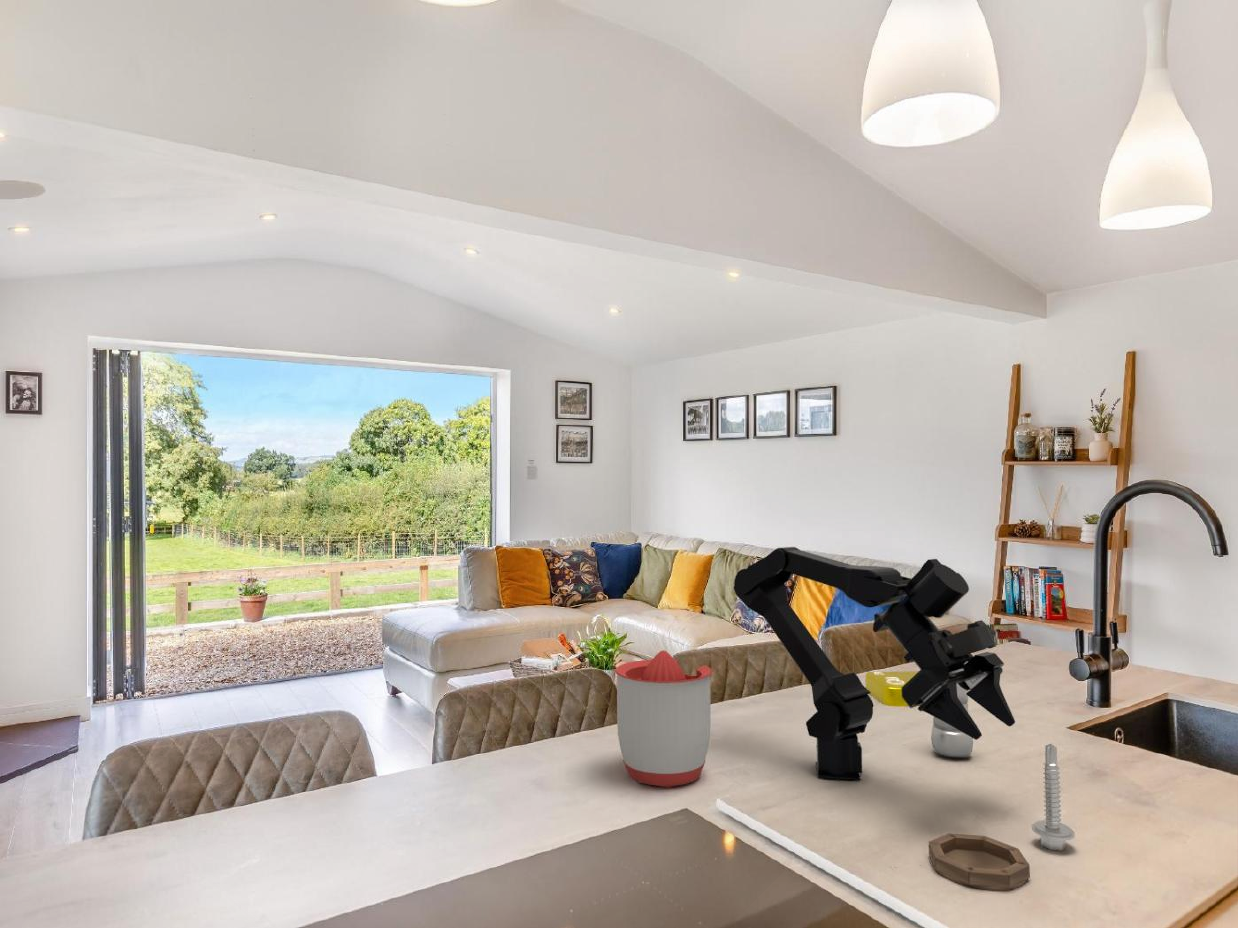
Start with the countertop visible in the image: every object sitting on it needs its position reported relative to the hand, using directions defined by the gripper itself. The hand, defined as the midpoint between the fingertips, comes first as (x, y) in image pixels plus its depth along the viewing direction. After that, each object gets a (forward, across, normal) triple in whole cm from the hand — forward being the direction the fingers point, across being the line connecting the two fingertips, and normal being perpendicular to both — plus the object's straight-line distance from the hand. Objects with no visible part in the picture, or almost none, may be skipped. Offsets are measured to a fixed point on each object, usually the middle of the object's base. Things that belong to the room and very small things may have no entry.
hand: (996, 730), depth 107 cm
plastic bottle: (-4, +22, +23) cm, 32 cm away
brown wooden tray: (+12, -13, +6) cm, 19 cm away
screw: (+14, 0, +4) cm, 15 cm away
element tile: (-23, +51, +42) cm, 70 cm away
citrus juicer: (-21, -21, +40) cm, 50 cm away
